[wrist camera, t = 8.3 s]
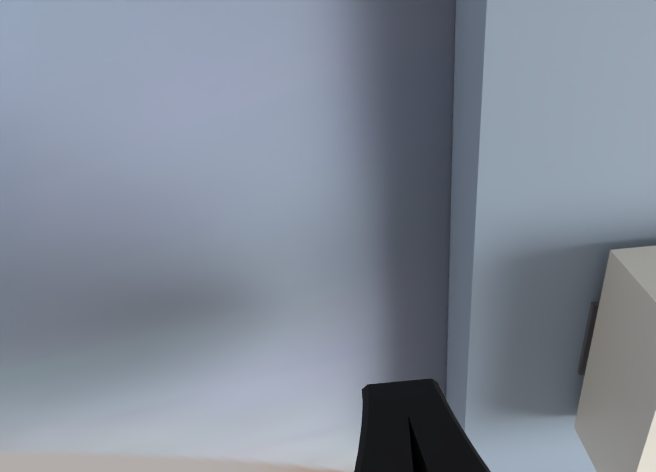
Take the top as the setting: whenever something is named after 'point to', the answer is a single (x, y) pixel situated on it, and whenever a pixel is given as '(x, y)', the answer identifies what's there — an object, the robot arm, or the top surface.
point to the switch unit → (542, 210)
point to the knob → (622, 368)
